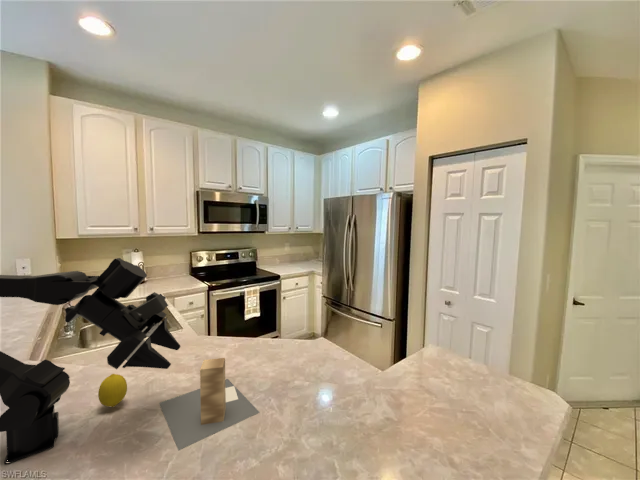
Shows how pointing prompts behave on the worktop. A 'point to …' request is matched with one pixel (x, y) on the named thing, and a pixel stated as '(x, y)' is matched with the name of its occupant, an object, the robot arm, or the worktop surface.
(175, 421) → the mat
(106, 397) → the lemon
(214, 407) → the oak block
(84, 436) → the worktop surface
